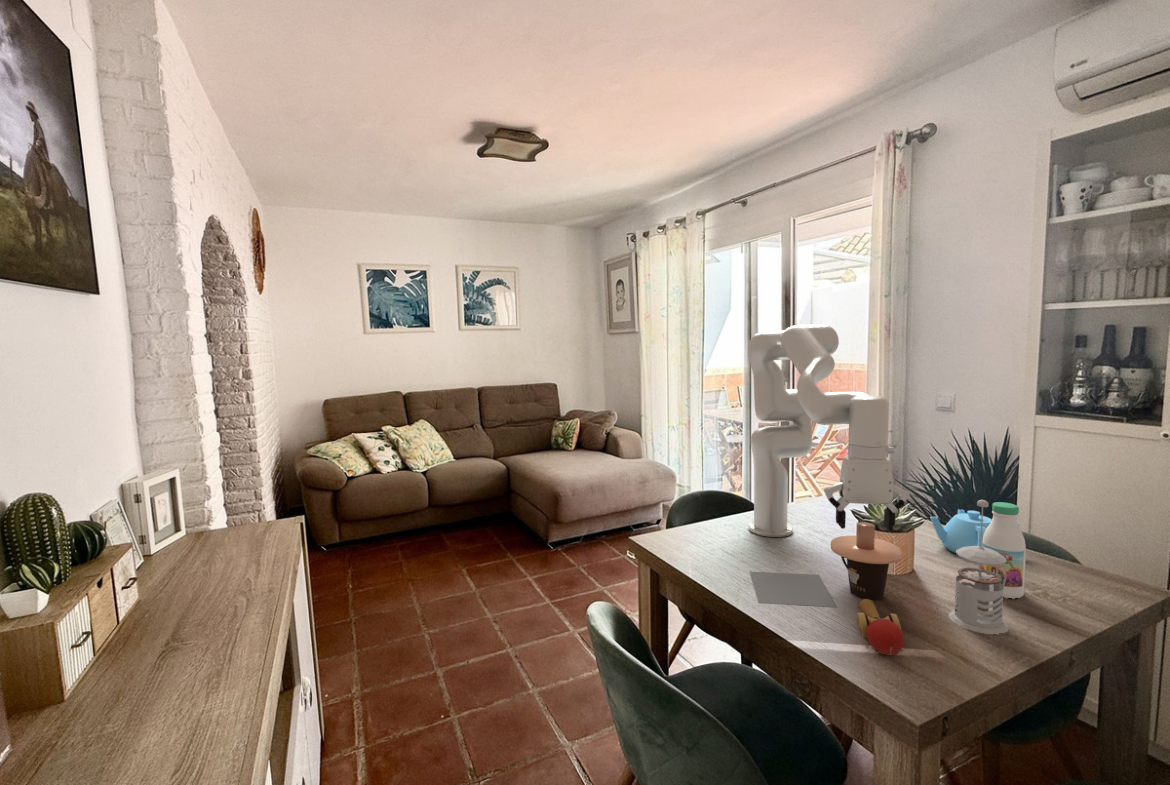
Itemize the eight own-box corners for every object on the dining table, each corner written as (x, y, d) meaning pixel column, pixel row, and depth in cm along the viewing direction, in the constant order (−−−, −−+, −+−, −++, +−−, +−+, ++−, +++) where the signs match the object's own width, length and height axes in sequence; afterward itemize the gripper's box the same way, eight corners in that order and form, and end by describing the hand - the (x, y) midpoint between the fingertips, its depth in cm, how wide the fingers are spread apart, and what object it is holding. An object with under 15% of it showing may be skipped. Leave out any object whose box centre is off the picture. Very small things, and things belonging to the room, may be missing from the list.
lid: (823, 538, 127) (823, 514, 127) (887, 540, 125) (887, 515, 124) (840, 562, 114) (841, 534, 113) (912, 565, 111) (913, 537, 111)
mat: (749, 575, 131) (749, 571, 131) (818, 578, 129) (818, 574, 128) (758, 606, 116) (758, 602, 116) (837, 611, 113) (837, 607, 113)
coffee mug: (894, 608, 114) (896, 562, 113) (851, 605, 115) (851, 560, 115) (876, 584, 125) (877, 542, 124) (837, 581, 127) (837, 540, 126)
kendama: (842, 616, 114) (861, 652, 96) (848, 587, 114) (868, 617, 96) (882, 627, 112) (909, 666, 94) (888, 598, 112) (916, 631, 94)
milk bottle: (983, 581, 125) (987, 497, 123) (1026, 591, 120) (1030, 504, 118) (976, 592, 120) (980, 505, 118) (1021, 603, 114) (1025, 512, 113)
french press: (936, 615, 111) (941, 496, 108) (974, 604, 115) (979, 489, 112) (987, 639, 101) (993, 510, 99) (1026, 626, 106) (1032, 502, 103)
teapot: (924, 546, 147) (925, 508, 146) (958, 536, 153) (959, 500, 152) (985, 566, 133) (987, 524, 132) (1020, 555, 139) (1022, 515, 138)
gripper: (903, 449, 120) (900, 523, 121) (821, 447, 123) (819, 520, 124) (917, 456, 112) (914, 535, 114) (829, 455, 115) (827, 532, 117)
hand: (864, 527), depth 119 cm, fingers open, 9 cm apart
